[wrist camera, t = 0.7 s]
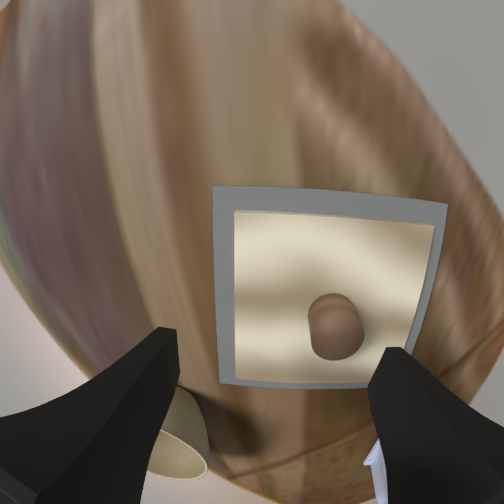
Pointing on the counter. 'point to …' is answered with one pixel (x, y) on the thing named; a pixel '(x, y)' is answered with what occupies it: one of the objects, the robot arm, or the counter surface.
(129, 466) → the robot arm
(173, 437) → the beige bowl
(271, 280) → the lid
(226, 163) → the counter surface
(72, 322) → the counter surface
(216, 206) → the mat
